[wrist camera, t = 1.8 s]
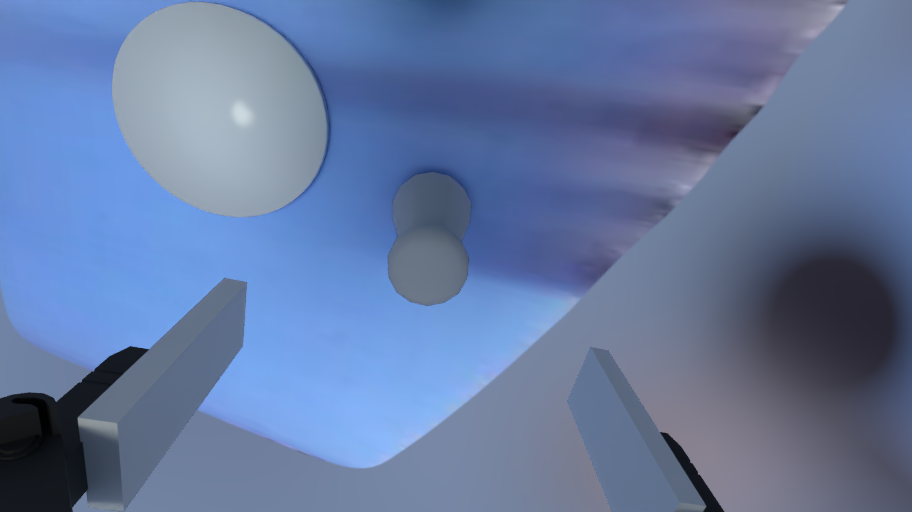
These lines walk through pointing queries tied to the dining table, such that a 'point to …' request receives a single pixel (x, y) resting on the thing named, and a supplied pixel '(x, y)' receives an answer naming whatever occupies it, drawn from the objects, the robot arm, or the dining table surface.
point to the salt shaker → (429, 239)
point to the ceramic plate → (220, 109)
